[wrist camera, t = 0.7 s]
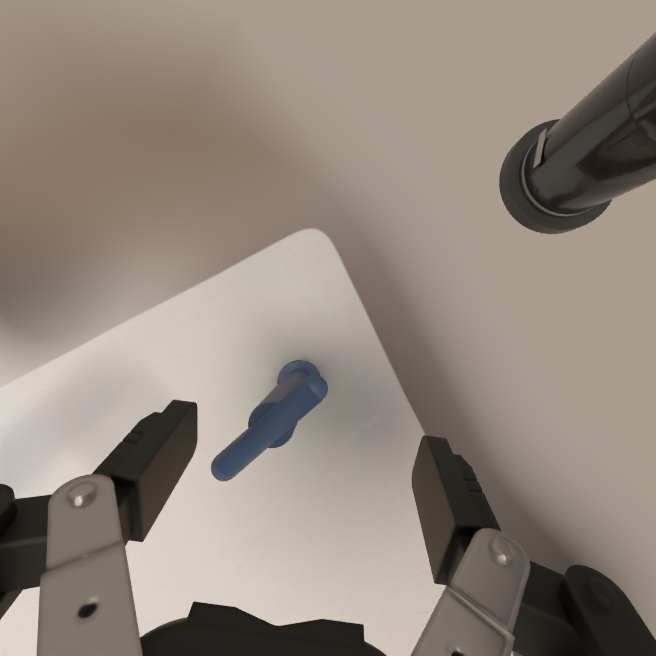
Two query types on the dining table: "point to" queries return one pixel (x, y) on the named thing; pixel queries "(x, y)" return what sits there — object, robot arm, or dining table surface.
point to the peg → (273, 418)
